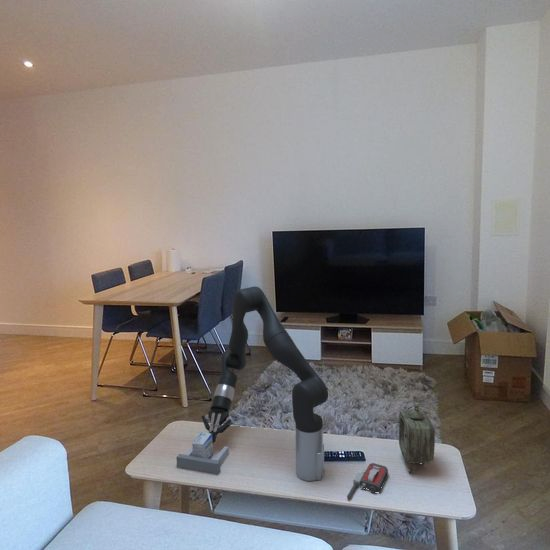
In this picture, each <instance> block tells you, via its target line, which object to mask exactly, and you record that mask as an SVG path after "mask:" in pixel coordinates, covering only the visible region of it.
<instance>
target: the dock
mask: <svg viewBox="0 0 550 550" xmlns="http://www.w3.org/2000/svg"><path fill="white" fill-rule="evenodd" d="M229 452H230V451H229V446H225V445H224V446H223V447H222V449H221V451H219V453H218V454H217V455H216V457H215V458H214V459H213V458H210V459H207V458H201V457H195V456H193V448H192V447H191V448H190V449H189V450H188V451H187V452H186V453H185V454H183V453H182V454H181V453H179V454H178V455H176V468H177V469H178V468H179V469H184V470H189V471H195V472H201V473H206V474H210V475H211V474H212V475H217V476H218V475H220V473H221V466H222V464H223V463H224V461H225V460H226V458H227V457H228V456H229Z"/></svg>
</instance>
